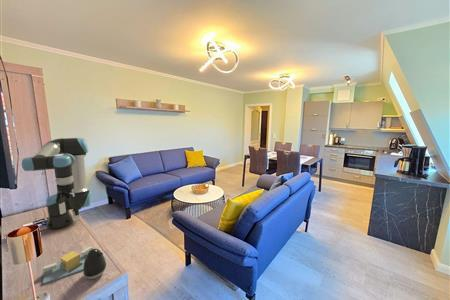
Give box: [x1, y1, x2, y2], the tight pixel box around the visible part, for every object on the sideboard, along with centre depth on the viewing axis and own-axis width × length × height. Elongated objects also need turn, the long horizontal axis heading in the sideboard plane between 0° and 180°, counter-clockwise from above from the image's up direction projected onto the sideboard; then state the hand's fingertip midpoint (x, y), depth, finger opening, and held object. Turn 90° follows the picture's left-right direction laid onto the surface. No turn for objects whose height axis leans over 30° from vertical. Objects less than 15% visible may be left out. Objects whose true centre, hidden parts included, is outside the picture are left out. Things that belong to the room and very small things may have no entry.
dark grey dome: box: [82, 248, 107, 280], centre depth 102 cm, size 10×10×15 cm
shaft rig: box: [42, 246, 94, 286], centre depth 107 cm, size 13×22×5 cm, turn 126°
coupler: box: [60, 250, 81, 271], centre depth 107 cm, size 6×8×6 cm
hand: (69, 216), depth 113 cm, fingers open, 13 cm apart
